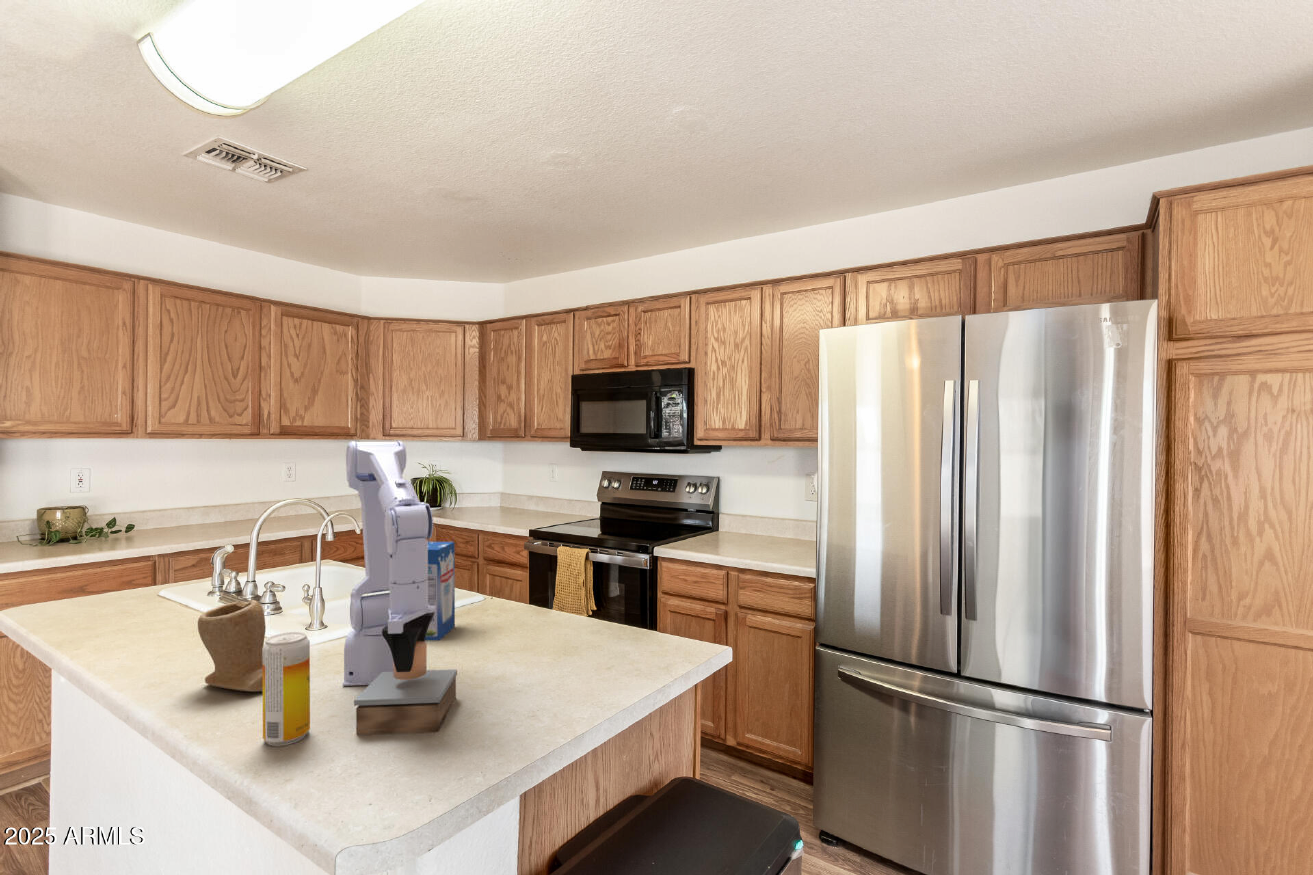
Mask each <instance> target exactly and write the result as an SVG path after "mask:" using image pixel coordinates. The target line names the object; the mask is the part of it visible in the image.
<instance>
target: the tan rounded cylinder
mask: <svg viewBox="0 0 1313 875" xmlns="http://www.w3.org/2000/svg"><path fill="white" fill-rule="evenodd" d="M427 659H428V658H427V642H426V641H425V642H423V641H417V642H416V646H415V651H414V660H413V665H412V669H411V671H410V672H397V671H396V668H395V665H394V661H393V677H394V678H396V679H400V680H409V679H415V678H418V677H421V676H423V675H425V674H426V672H427V669H428V668H427V667H428V666H427Z"/></svg>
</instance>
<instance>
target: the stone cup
mask: <svg viewBox="0 0 1313 875" xmlns="http://www.w3.org/2000/svg"><path fill="white" fill-rule="evenodd" d="M263 608H264V607H263V606H262V605H261V603H260V602H258V601H257V600H255V599H251V600H250V601H242V600H241V601H234V602H229V603H226V604H222V605H219V606H217V607H215V608H211V609H209V610H207V611H205V612H203V613H202V614H200V616H198V620H197V630H198V635H199V637H200V639H201V641H202V643H203V645H204V647H205V649H206V650H207V652H208V654H209V655H210V657H211V659H212V661H213V665H214V671H212V672H211V673H210V674H208V675H207V676H206V677H205V678H204V682H205V684H207V685H209V686H212V687H217V688H222V689H229V690H236V691H241V692H263V661H262V649H263V646H264V644H265V637H266V627H267V626H266V618H265V611H264V609H263Z"/></svg>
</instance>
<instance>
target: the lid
mask: <svg viewBox="0 0 1313 875" xmlns="http://www.w3.org/2000/svg"><path fill="white" fill-rule="evenodd" d="M457 675H458V669H456V668H455V669H433V670H432V669H431V670H427V672H426V674H425V675H423V676H421V677H418V678H415V679H409V680H400V679H396V678H394V677H393V672H382V673H381V674H380V675H379V676H378V677H377V678H376V679H375V680H374V681H373V682H372V683H371V684H370V685H367V686H366V687H365V688H364V689H363V691H362V692H361V693H360V694H359V695H357V697H355V699H354V700H353V706H355V707H356V706H357V707H358V706H360V705H387V704H414V703H439V702H440V700H441V698H442V697H443V695H444V694H445V692H446V691H447V689H448V687H449V686H450V684H451V683H452V681H453V680H454V678H455V677H456V678H457Z"/></svg>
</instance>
